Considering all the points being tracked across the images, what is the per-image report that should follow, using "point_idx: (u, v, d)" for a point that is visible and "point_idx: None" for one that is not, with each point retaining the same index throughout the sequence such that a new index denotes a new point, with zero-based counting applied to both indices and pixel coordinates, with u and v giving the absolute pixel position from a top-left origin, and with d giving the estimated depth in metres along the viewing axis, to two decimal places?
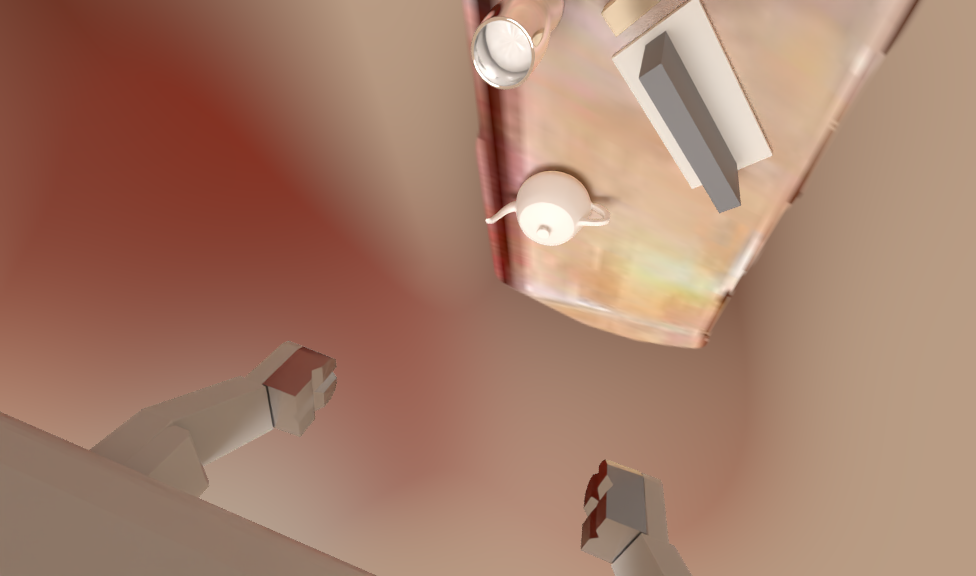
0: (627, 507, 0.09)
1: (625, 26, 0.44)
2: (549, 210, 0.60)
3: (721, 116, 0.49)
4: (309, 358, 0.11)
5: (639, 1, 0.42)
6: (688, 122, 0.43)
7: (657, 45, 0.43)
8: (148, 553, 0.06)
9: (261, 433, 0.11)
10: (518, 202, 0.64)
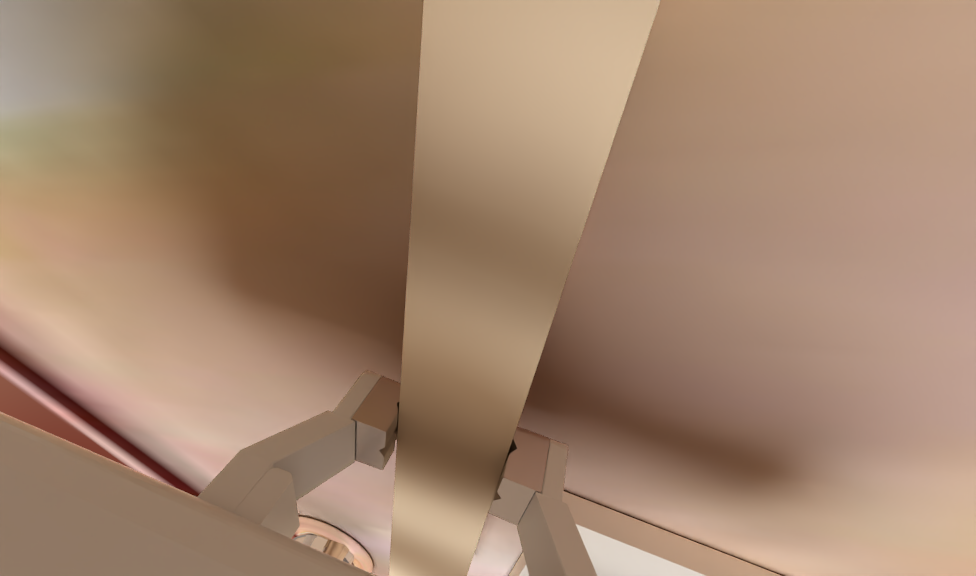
0: (527, 469, 0.10)
1: None
2: None
3: None
4: (391, 389, 0.11)
5: None
6: None
7: None
8: (148, 553, 0.06)
9: (344, 467, 0.10)
10: None
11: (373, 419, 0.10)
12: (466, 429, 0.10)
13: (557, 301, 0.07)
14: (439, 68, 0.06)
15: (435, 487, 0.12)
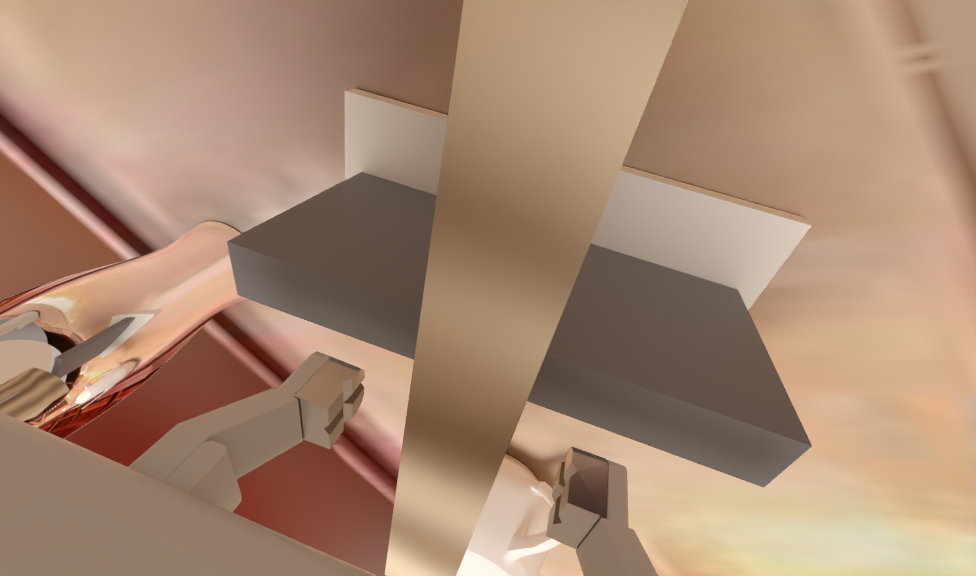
0: (590, 493, 0.09)
1: None
2: None
3: (598, 227, 0.19)
4: (339, 369, 0.11)
5: (427, 556, 0.16)
6: (409, 316, 0.13)
7: None
8: (148, 553, 0.06)
9: (291, 445, 0.11)
10: None
11: (316, 397, 0.10)
12: (474, 411, 0.10)
13: (569, 290, 0.08)
14: (473, 68, 0.06)
15: (440, 467, 0.12)
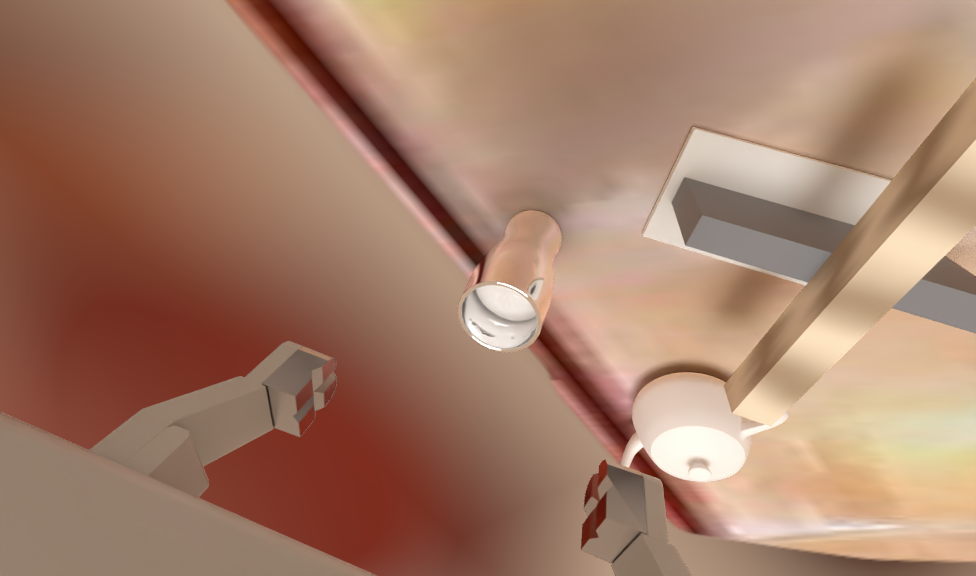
0: (628, 507, 0.09)
1: (778, 415, 0.30)
2: (687, 436, 0.40)
3: (846, 210, 0.32)
4: (309, 358, 0.11)
5: (782, 390, 0.29)
6: (805, 252, 0.26)
7: (684, 196, 0.32)
8: (148, 553, 0.06)
9: (261, 433, 0.11)
10: (639, 437, 0.45)
11: (284, 384, 0.10)
12: (885, 287, 0.23)
13: (974, 225, 0.21)
14: None
15: (838, 323, 0.25)
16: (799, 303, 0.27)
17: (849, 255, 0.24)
